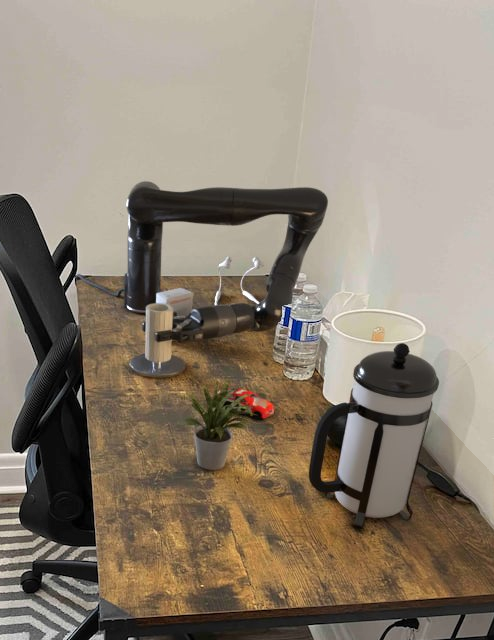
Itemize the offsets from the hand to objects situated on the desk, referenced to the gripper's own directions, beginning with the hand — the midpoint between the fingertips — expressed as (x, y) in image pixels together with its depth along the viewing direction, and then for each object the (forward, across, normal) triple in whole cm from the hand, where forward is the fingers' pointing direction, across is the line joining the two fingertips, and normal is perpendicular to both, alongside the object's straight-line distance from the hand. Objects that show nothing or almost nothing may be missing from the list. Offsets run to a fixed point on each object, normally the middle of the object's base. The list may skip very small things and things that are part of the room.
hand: (149, 332), depth 168 cm
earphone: (-44, +31, -9) cm, 54 cm away
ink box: (-14, +15, -9) cm, 23 cm away
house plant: (+9, -44, -9) cm, 46 cm away
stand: (-2, 0, -9) cm, 9 cm away
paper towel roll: (-2, 0, -6) cm, 7 cm away
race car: (-9, -27, -9) cm, 30 cm away
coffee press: (-8, -67, -9) cm, 68 cm away
